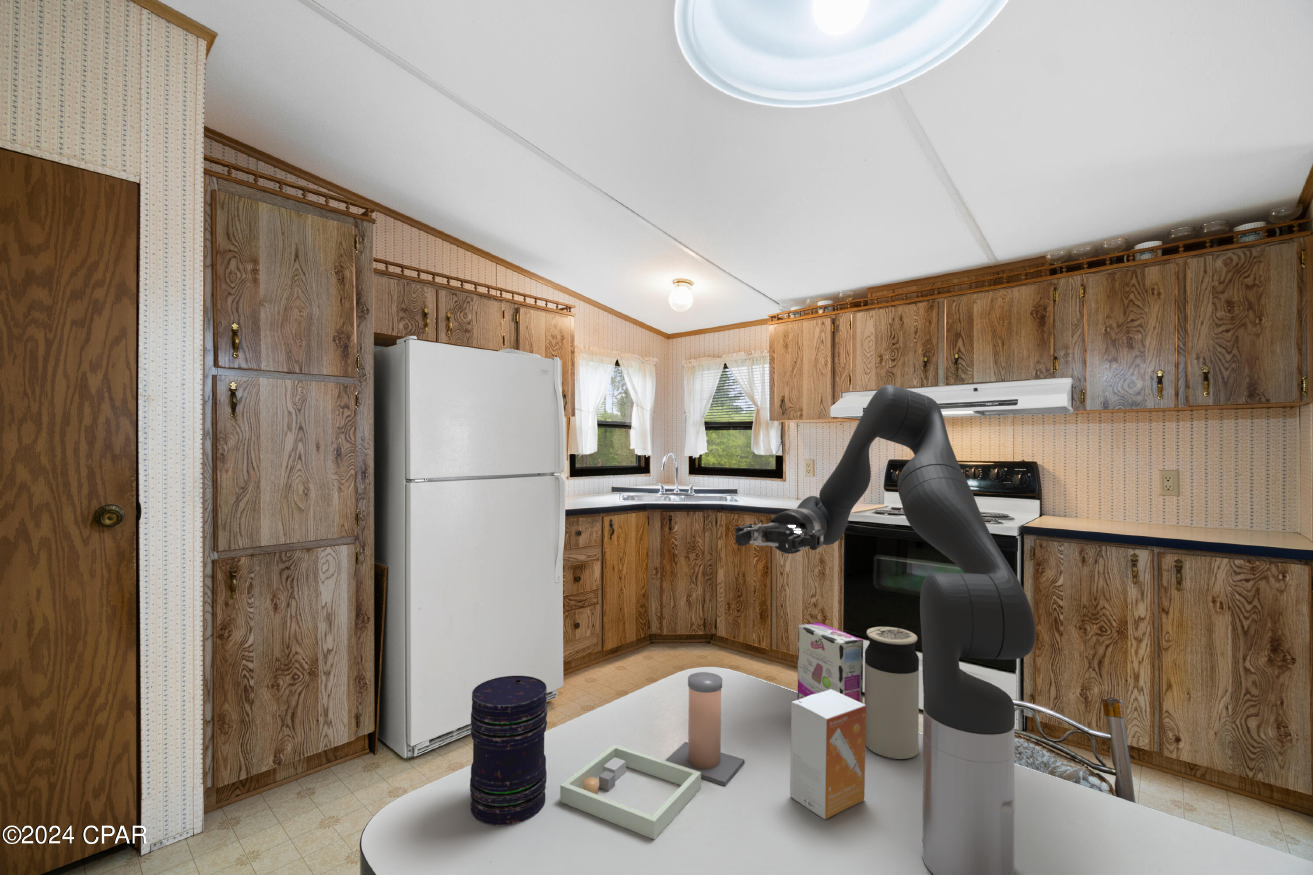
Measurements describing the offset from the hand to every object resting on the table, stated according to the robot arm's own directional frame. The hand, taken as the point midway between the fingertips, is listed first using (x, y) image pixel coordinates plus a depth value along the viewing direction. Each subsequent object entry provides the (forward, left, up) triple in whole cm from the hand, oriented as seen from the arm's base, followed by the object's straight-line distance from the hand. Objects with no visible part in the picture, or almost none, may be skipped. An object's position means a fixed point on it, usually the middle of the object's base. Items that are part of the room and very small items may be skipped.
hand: (764, 542), depth 96 cm
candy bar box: (-8, -10, -32) cm, 35 cm away
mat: (+5, +11, -32) cm, 34 cm away
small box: (-13, +10, -32) cm, 36 cm away
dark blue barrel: (+23, +33, -32) cm, 52 cm away
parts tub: (+10, +23, -32) cm, 41 cm away
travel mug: (-18, -9, -32) cm, 38 cm away
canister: (+5, +11, -31) cm, 34 cm away
